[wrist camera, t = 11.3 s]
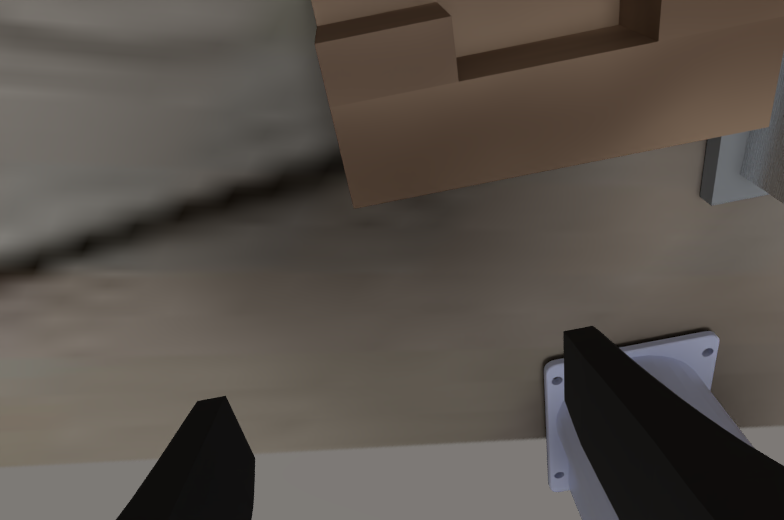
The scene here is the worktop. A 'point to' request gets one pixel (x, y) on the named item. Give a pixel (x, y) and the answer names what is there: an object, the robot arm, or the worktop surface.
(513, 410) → the worktop surface
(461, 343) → the worktop surface
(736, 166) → the slate mat
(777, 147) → the aluminium tile
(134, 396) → the worktop surface
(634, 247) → the worktop surface
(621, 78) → the pocket board
